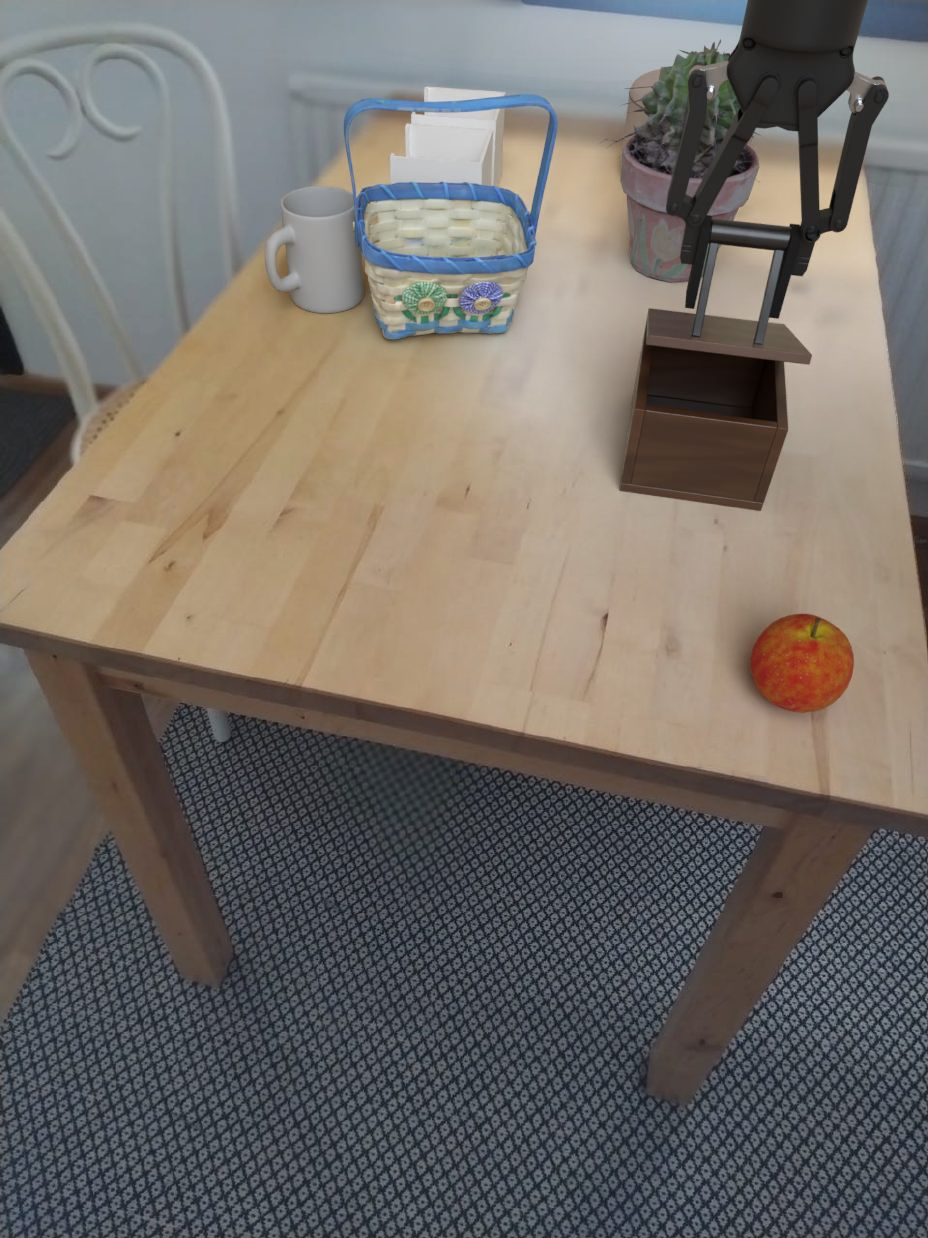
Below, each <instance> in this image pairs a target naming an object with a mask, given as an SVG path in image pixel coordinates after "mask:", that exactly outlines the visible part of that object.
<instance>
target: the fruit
mask: <svg viewBox="0 0 928 1238" xmlns="http://www.w3.org/2000/svg"><path fill="white" fill-rule="evenodd" d="M854 656H855V655H854V652H853V648H852V645H851V643H850V640H849V639H848V637H847V635H846V634H845V632H844V631H842V630H841V629H840V628H839V627H838V626H837V625H835V624H833V623H832V622H831V621H829V620H827V619H825V618H822V617H820V616H818V615H815V614H812V613H794V614H788V615H786V616H783V617H780V618H778V619H776V620H775V621H772V622H771V624H769V625H768V626H767V627H766V628H764V630H763V631H762V632H761V633H760V635H758V637H757V639H756V641H755V642H754V644H753V646H752V650H751V654H750V661H749V662H750V664H749V665H750V673H751V677H752V680H753V682H754V684H755V686H756V688H757V690H758V691H759V692H760V694H761V695H762V696H763V697H764V698H765V699H766V700H767V701H768V702H769V703H771V704H772V705H774V706H775V707H778V708H780V709H783V710H786V711H790V712H795V713H802V714H805V713H812V712H819V711H822V710H825V709H826V708H827V707H829V706H831V705H833V704H834V703H835V702H836V701H838V700H839V699H840V698H841V697H842V695H843V694H844V693H845V691H846V690H847V689H848V687H849V685H850V682H851V680H852V677H853V674H854V668H855V661H854V660H855V659H854Z"/></svg>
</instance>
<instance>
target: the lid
mask: <svg viewBox="0 0 928 1238" xmlns="http://www.w3.org/2000/svg"><path fill="white" fill-rule="evenodd" d="M790 237H791V227H789V225H778V224H768V223H761V222H760V223H759V222H748V221H741V220H740V221H739V220H733V221H732V220H722V219H712V225H711V234H710V239H709V247H708V252H707V258H706V263H705V268H704V273H703V277H701V282H700V287H699V294H698V300H697V304H696V308H695V309H696V310H695V313H692V312H685V311H684V312H683V311H675V310H668V309H660V308H652V307H651V308H650V307H648V308H647V314H646V319H647V337H646V345H652V346H661V347H669V348H677V349H685V350H693V351H701V352H709V353H717V354H725V355H734V356H742V357H750V358H758V359H766V360H774V361H782V362H784V363H790V364H800V365H806V366H810V364H811V362H812V356H813V354H812V353H811V352H810V351H809V350H808V349H807V348H806V346H805V345H804V344H803V343H802V342H801V340H799V338H798V337H797V336H796V335H795V334H794V333H793V332H792V330H790V329H789V327H787V325H786V324H784V323H777V322H769V320H770V318H769V316H770V312H771V307H772V303H773V298H774V294H775V290H776V285H777V281H778V277H779V272H780V268H781V264H782V259H783V255H784V252H785V251H786V250H787V248H788V245H789V242H790ZM719 245H721V246H729V247H736V248H737V247H738V248H747V249H755V250H765V251H773V253H772V256H771V257H772V258H771V262H770V266H769V270H768V275H767V280H766V285H765V289H764V293H763V296H762V297H763V298H762V303H761V307H760V312H759V316H758V320H752V319H744V318H735V317H726V316H718V315H710V314H706V311H707V306H708V300H709V296H710V290H711V287H712V281H713V275H714V272H715V271H714V270H715V266H716V260H717V255H718V253H717V251H718V252H719V250H718V246H719Z"/></svg>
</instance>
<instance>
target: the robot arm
mask: <svg viewBox="0 0 928 1238" xmlns="http://www.w3.org/2000/svg"><path fill="white" fill-rule="evenodd" d="M868 2H869V0H747V2H746V7H745V11H744V17H743V21H742V26H741V31H740V36H739V39H738V42H737V44H736V46H735V47H734V49H733V51H732V52H731V53H730V56H729V58H728V61H724V62H719V63H715V64H710V65H706V66H705V65H704V63H702V62H696V63H694V64H693V65H692V66H691V67H690V69H689V77H688V91H689V103H690V105H689V109H688V113H687V117H686V121H685V125H684V129H683V133H682V137H681V141H680V145H679V149H678V154H677V158H676V162H675V166H674V170H673V174H672V178H671V182H670V186H669V190H668V194H667V202H666V211H667V213H668V214H669V215H671V216H678V217H680V218H682V219H683V220H684V221H685V224H686V225H685V230H684V235H683V240H682V245H681V251H680V260H681V264H690V265H692V266H691V271H690V276H689V281H687V286H686V291H685V302H684V309H689V310H694V309H696V308H695V307H696V302H697V298H698V295H699V294H698V293H699V290H700V286H701V281H702V277H701V275H702V271H703V266H704V262H705V257H706V252H707V248H708V243H709V239H710V234H711V225H712V216H711V215H707V214H708V212H709V210H710V209H711V207H712V205H713V203H714V201H715V199H716V198H717V196H718V194H719V192H720V190H721V188H722V187H723V185H724V183H725V181H726V179H727V178H728V176H729V174H730V172H731V170H732V168H733V167H734V165H735V163H736V161H737V159H738V158H739V156H740V154H741V152H742V150H743V148H744V147H745V145H746V143H747V142H748V141H749V140H750V138H751V137H752V135H753V136H754V134H755V133H754V132H756V130H757V129H771V128H780V129H783V130H785V131H788V132H797V140H798V143H797V144H798V164H799V165H798V166H799V189H800V191H799V193H800V213H801V214H800V215H801V217H800V218H801V222H800V224H797V223H789V225H788V227H791V237H790V242H789V245H788V248H787V250H786V251H785V252H784V255H783V259H782V264H781V268H780V272H779V277H778V281H777V285H776V290H775V294H774V298H773V303H772V307H771V312H770V316H769V319H775V320H779V318H780V315H781V312H782V308H783V305H784V302H785V299H786V295H787V291H788V287H789V285H790V281H791V277H792V276H793V277H804V275H805V274H806V273H807V271H808V268H809V264H810V262H811V261H810V260H811V258H812V254H813V251H814V248H815V244H816V242H817V241H818V240H819V239H820V238H821V235H823V234H825V233H829V232H833V233H841V232H843V231H845V230H846V228H847V227H848V223H849V219H850V215H851V211H852V207H853V203H854V201H855V195H856V192H857V187H858V183H859V180H860V175H861V171H862V169H863V163H864V159H865V155H866V151H867V147H868V143H869V139H870V136H871V131H872V128H873V125H874V123H875V121H876V119H877V118H878V116H879V115H880V113H881V111H882V110H883V108H884V107H885V105H886V104H887V102H888V100H889V98H890V93H889V90H888V87H887V84H886V81H885V79H884V78H883V77H882V76H878V75H877V76H873V77H872V78H871V77H869V76H867V75H864V74H862V73H860V72H858V71H856V68H855V64H854V63H855V62H854V52H855V47H856V44H857V41H858V37H859V33H860V30H861V26H862V23H863V20H864V17H865V12H866V9H867V6H868ZM727 80H729V82H730V85H731V87H732V89H733V91H734V94H735V96H736V98H737V101H738V103H739V105H740V107H739V109H738V111H737V112H736V114H735V116H734V119H733V121H732V124H731V126H730V128H729V130H728V132H727V134H726V136H725V138H724V139H723V141H722V143H721V145H720V147H719V149H718V151H717V153H716V155H715V156H714V158H713V160H712V162H711V164H710V166H709V168H708V170H707V172H706V173H705V175H704V177H703V179H702V181H701V183H700V185H699V187H698V189H697V190H696V192H695V194H694V196H693V198H692V197H690V196H688V195H686V191H687V187H688V183H689V179H690V176H691V172H692V168H693V164H694V160H695V156H696V152H697V149H698V145H699V141H700V137H701V133H702V129H703V126H704V122H705V117H706V112H707V101H711V100H713V99H715V98H716V97H717V95H718V92H719V88H720V86H721V84H722V83H723V82H725V81H727ZM846 91H847V92H848V93H849V97H848V99H847V104H848V108H849V110H850V112H851V114H850V116H849V120H848V124H847V127H846V132H845V137H844V141H843V145H842V146H843V147H842V150H841V154H840V157H839V158H840V159H839V163H838V165H837V166H838V167H837V170H836V174H835V175H836V176H835V179H834V183H833V189H832V191H831V198H830V201H829V205H828V207H826V208H823V209H821V208H820V207H821V206H820V172H819V119H818V118H819V117H821V115H822V114H823V113H825V112H826V111H827V110H828V109H829V108H830V107H831V106H832V104H834V103H835V102H836V101H837V100H838V99H840V97H841V96H842V95H843V94H844V93H845V92H846ZM753 133H754V134H753Z"/></svg>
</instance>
